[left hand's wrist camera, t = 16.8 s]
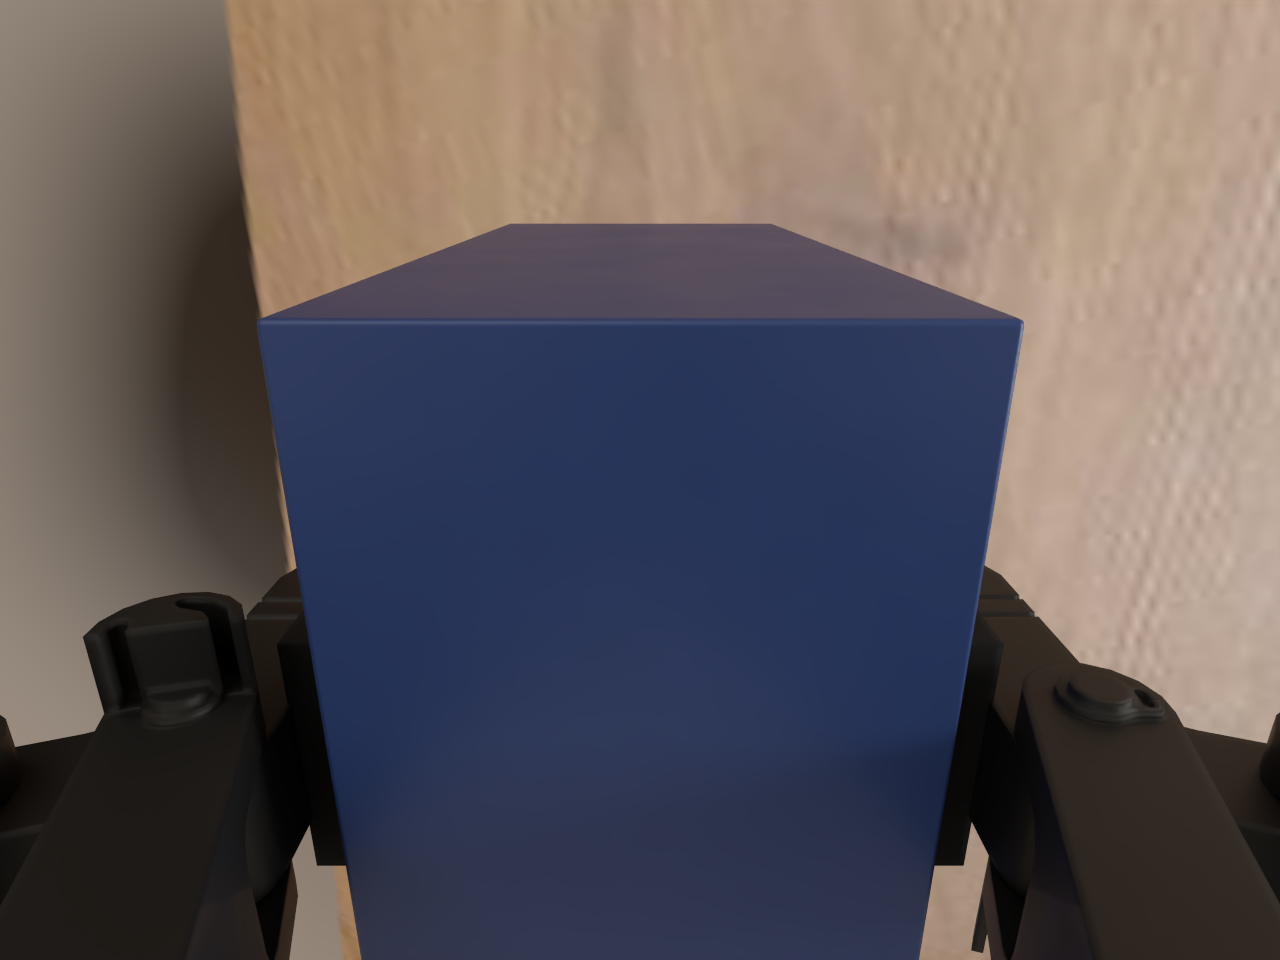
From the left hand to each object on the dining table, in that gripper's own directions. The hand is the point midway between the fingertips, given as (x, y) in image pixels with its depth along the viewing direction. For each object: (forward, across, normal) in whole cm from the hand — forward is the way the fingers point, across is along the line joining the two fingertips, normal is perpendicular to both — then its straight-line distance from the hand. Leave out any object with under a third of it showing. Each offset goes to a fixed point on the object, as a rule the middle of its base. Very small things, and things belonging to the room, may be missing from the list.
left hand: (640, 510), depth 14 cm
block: (+4, 0, 0) cm, 4 cm away
